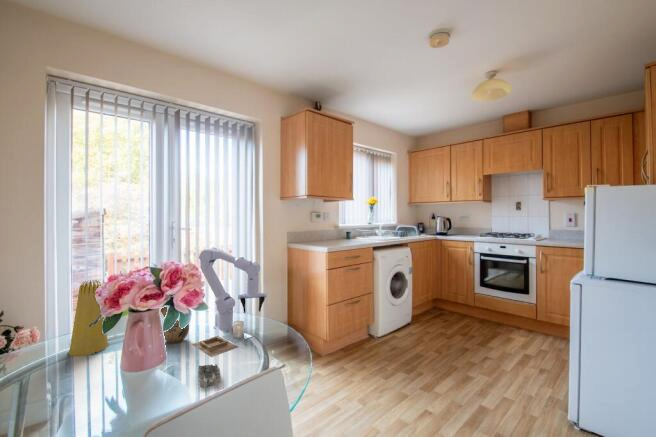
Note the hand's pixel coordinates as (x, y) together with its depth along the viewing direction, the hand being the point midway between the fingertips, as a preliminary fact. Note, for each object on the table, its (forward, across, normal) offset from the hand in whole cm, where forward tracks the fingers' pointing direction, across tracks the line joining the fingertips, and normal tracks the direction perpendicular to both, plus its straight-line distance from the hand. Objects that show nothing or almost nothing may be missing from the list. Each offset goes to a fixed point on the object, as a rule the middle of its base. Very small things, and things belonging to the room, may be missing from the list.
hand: (252, 311), depth 153 cm
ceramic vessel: (+10, -36, -4) cm, 37 cm away
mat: (+10, -7, -8) cm, 14 cm away
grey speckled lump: (+10, -20, -42) cm, 48 cm away
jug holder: (+10, -18, -15) cm, 25 cm away
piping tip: (+10, -70, -1) cm, 71 cm away
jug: (+9, -7, -9) cm, 15 cm away
